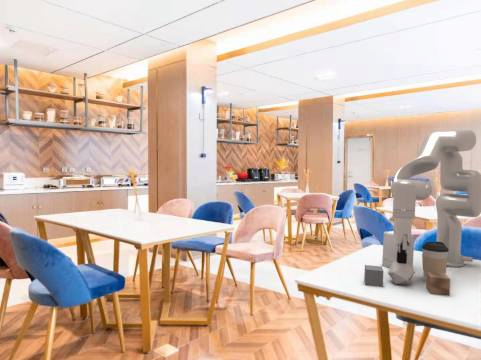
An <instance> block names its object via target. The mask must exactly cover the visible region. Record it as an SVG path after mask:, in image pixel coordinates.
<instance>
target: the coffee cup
mask: <svg viewBox="0 0 481 360" xmlns="http://www.w3.org/2000/svg"><path fill="white" fill-rule="evenodd" d="M421 249H422V250H421V251H422V253H421V259H422V260H421V262H422V271H423V272H422V276H423V277H422V279H423V281H424V282H425V283H426V277H427V272H432V273H443V274H446V272H447V268H448V266H447V260H448V257H447V256H448V251H449V250H448V249H449V248H448V247H446V245H445V244H444V243H443V242H437V241H426V242H425V243H424V244H422V246H421Z"/></svg>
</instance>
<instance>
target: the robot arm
mask: <svg viewBox="0 0 481 360" xmlns="http://www.w3.org/2000/svg"><path fill="white" fill-rule="evenodd" d="M476 143H477V135H476V133H475V132H474V131H473V130H471V129H466V130H464V129H463V130H462V129H460V130H459V129H458V130H456V129H455V130H438V131H436V130H435V131H432V132H429V133H428V134H426V135H425V138H424V140H423V141H422V143H421V145H420V148H419V150H418V152H417V154H416V157H414V158H413V159H411V160H409V161H408V162H407V163H405V164H404V165H402V166H401V167H399V169H398V170H397V171H396V173H395V175H394V177H393V180H392V182H391V185H390V193H391V195H392V197H393V198H392V201H393V202H392V218H393V219H394V221H393V231H394V232H393V241H394V243H395V244H396V245H397V263H403V264H406V263H407V245H408V246H410V245H411V234H412V220H416V219H415V218H416V217H415V216H416V201H417V200H418V201H425V200H427V199H429V198H430V197H431V194H432V191H433V188H432V185H431V183H429V182H428V181H426V180H421V179H420V180H419V179H411V178H413V177H416V176H417V175H420V174H425V173H428V172H430V171H433V170H435V169H436V168H438V166H439V174H440V175H439V178H440V179H439V183H440V188H442V189H443V190H445V191H453V192H464V193H467V194H460V193H451V192H450V193H442V194H439V195H438V196H437V197H436V199H435V208H436V214H437V215H436V216H437V218H436V219H437V224H436V226H437V227H436V242H443V243H444V244H445V245H446V247H448V248H449V249H448V250H449V251H448V256H447V257H448V260H447V267H451V268H459V267H460V268H461V267H463V266H465V263H464V262H471V263H472V262H473V261H474V260H473V259H474V258H473V257H472V256H468V255H467V256H466V255H462V253H461V250H462V249H461V246H462V228H463V227H462V223H461V221H460V220H459V218H458V217H463V218H464V217H465V218H466V217H467V218H477V217H480V215H481V173H480V172H479V171H478V170H474V169H464V168H463V156H462V155H461V153H462V152H468V151H472V150H473V149H474V148H475V146H476ZM460 152H461V153H460ZM439 164H440V165H439Z"/></svg>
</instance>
